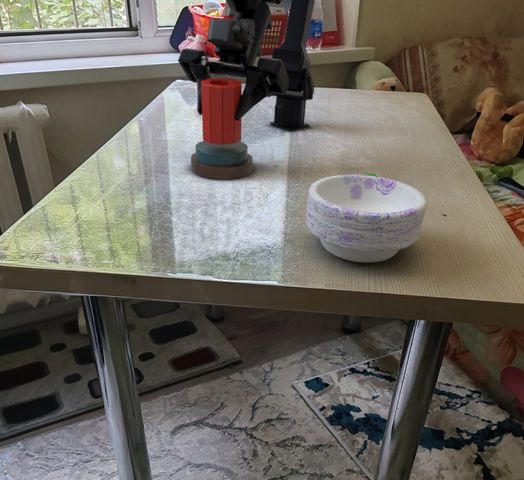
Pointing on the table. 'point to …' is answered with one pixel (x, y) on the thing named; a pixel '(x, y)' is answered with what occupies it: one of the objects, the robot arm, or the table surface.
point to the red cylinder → (220, 110)
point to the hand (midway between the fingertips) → (217, 116)
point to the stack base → (221, 170)
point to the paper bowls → (364, 216)
